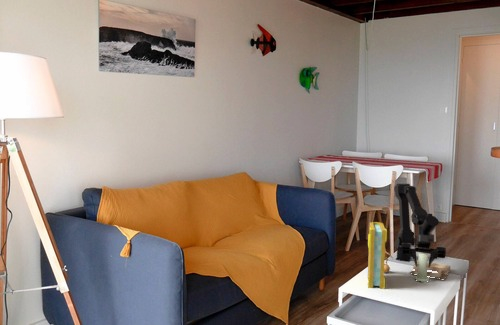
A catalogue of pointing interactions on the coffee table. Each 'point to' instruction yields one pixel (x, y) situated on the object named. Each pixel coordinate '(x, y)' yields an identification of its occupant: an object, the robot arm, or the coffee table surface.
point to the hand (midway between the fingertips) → (422, 266)
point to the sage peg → (422, 267)
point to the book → (376, 254)
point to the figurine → (386, 267)
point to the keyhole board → (440, 268)
